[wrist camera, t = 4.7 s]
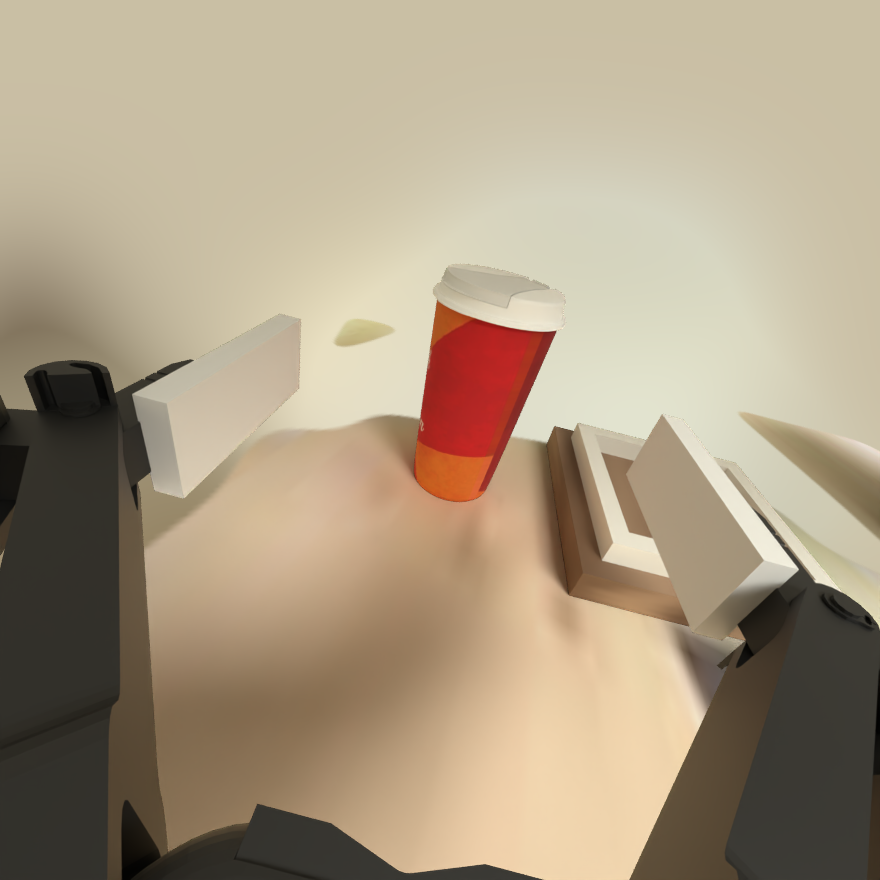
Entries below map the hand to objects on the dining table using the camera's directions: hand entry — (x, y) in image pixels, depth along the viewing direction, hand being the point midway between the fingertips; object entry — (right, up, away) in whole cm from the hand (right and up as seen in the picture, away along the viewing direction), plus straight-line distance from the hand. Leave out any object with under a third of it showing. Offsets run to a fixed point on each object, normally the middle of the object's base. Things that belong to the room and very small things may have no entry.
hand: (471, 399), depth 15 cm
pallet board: (+15, -8, +15) cm, 23 cm away
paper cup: (0, -4, +15) cm, 16 cm away
